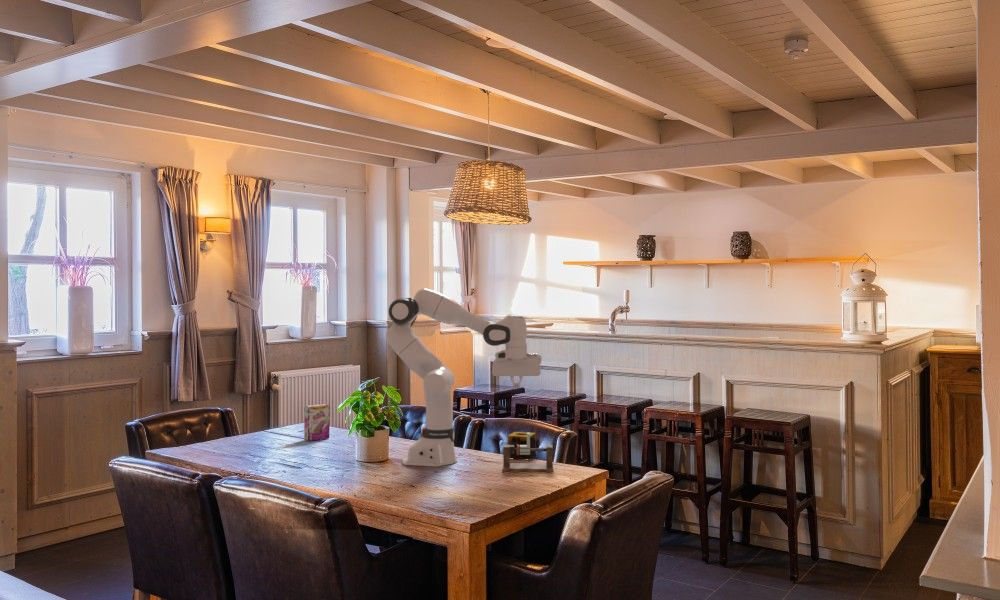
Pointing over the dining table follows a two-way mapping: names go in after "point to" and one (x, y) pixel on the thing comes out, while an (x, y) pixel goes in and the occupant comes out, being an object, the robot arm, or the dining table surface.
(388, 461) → the dining table surface
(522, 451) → the sleeve
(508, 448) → the rod stand
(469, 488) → the dining table surface
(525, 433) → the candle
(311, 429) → the candy bar box
